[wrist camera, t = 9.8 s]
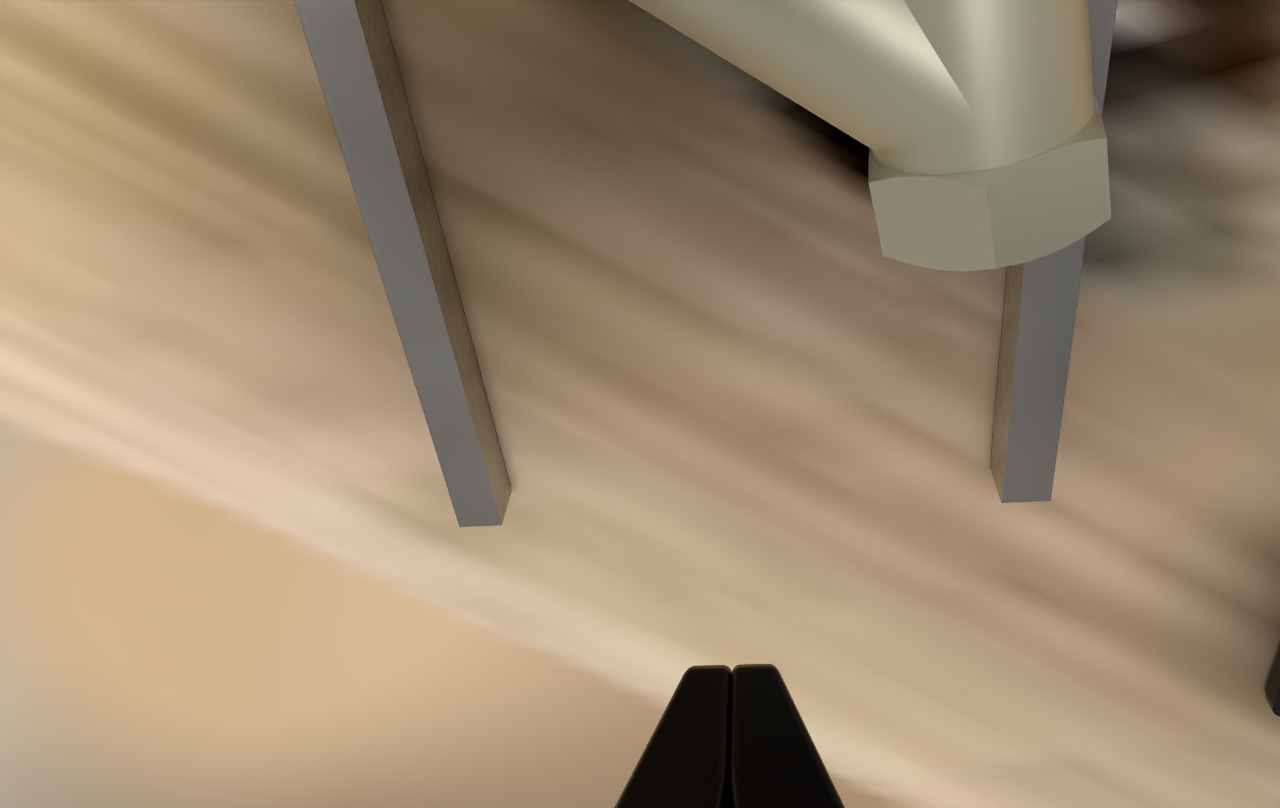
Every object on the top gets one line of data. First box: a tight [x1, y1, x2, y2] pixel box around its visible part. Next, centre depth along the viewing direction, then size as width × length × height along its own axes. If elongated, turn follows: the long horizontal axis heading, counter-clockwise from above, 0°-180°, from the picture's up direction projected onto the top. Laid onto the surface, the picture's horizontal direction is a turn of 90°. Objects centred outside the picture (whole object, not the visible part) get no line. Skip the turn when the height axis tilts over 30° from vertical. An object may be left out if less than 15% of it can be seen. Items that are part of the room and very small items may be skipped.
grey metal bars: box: [294, 0, 1117, 527], centre depth 17 cm, size 19×14×2 cm
